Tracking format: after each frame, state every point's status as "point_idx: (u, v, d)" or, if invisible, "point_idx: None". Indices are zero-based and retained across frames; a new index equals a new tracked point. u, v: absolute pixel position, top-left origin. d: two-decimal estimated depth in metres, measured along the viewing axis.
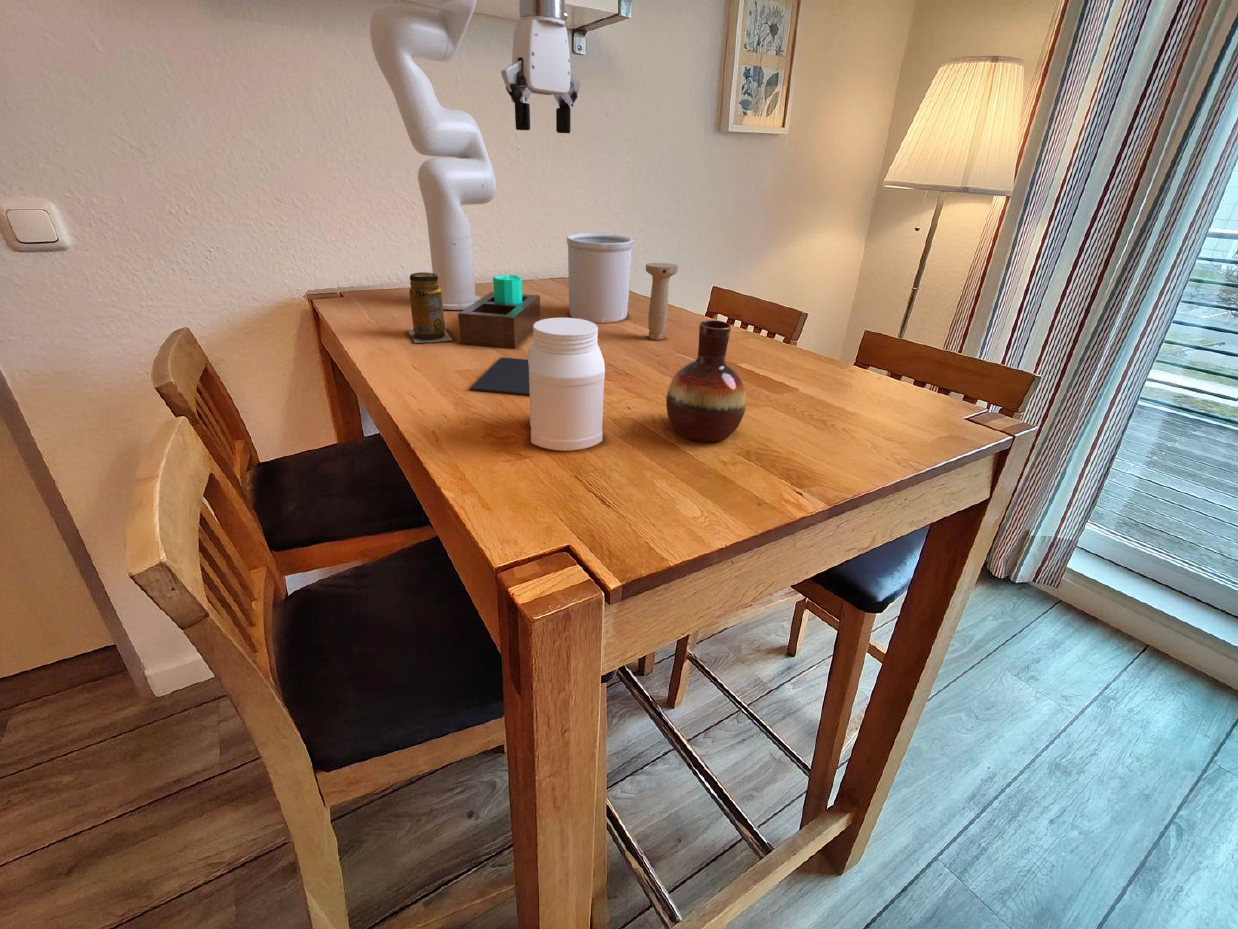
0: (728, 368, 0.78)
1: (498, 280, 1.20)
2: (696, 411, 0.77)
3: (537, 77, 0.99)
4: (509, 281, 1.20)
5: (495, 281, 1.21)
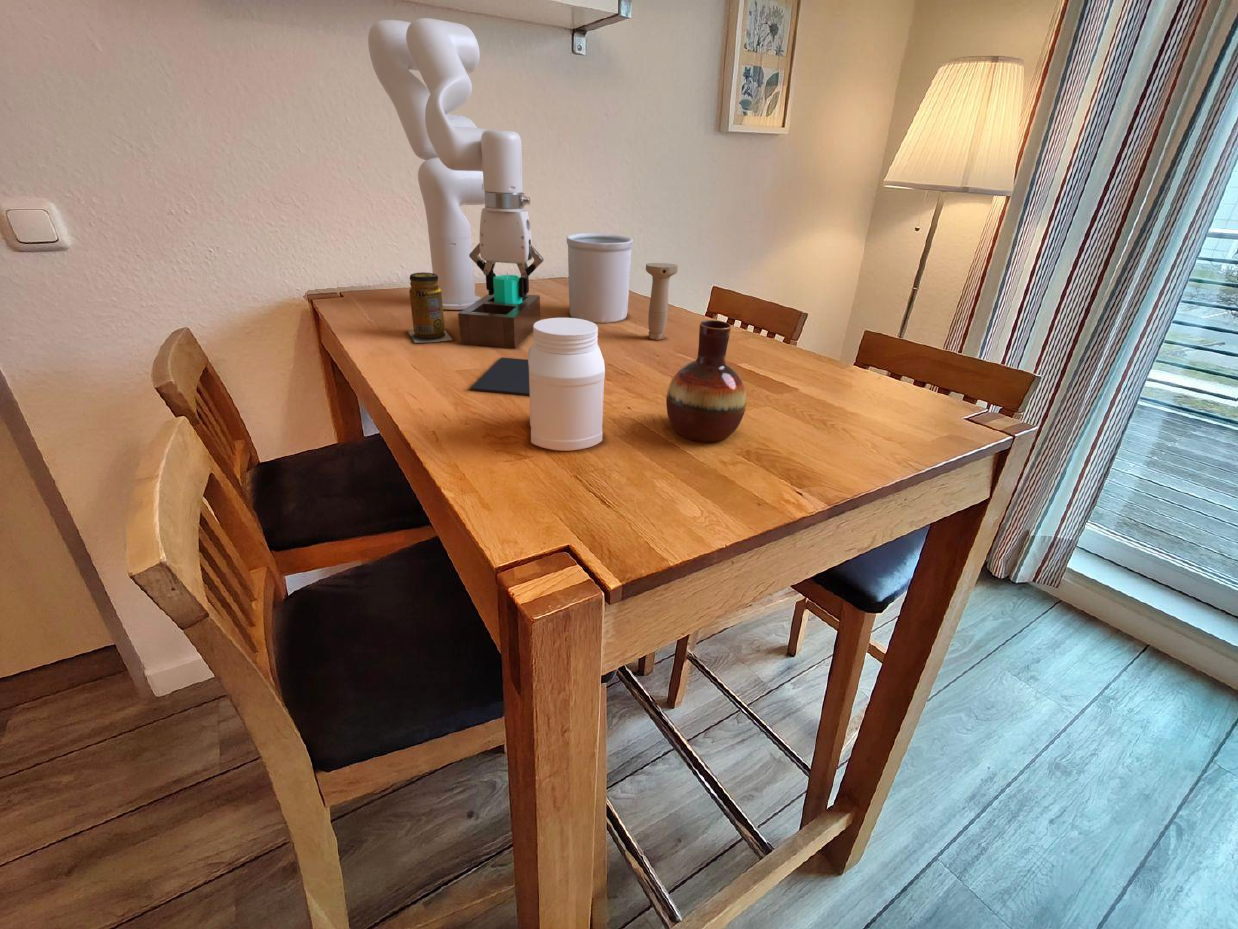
0: (728, 368, 0.78)
1: (498, 280, 1.20)
2: (696, 411, 0.77)
3: (487, 252, 1.18)
4: (509, 281, 1.20)
5: (495, 281, 1.21)
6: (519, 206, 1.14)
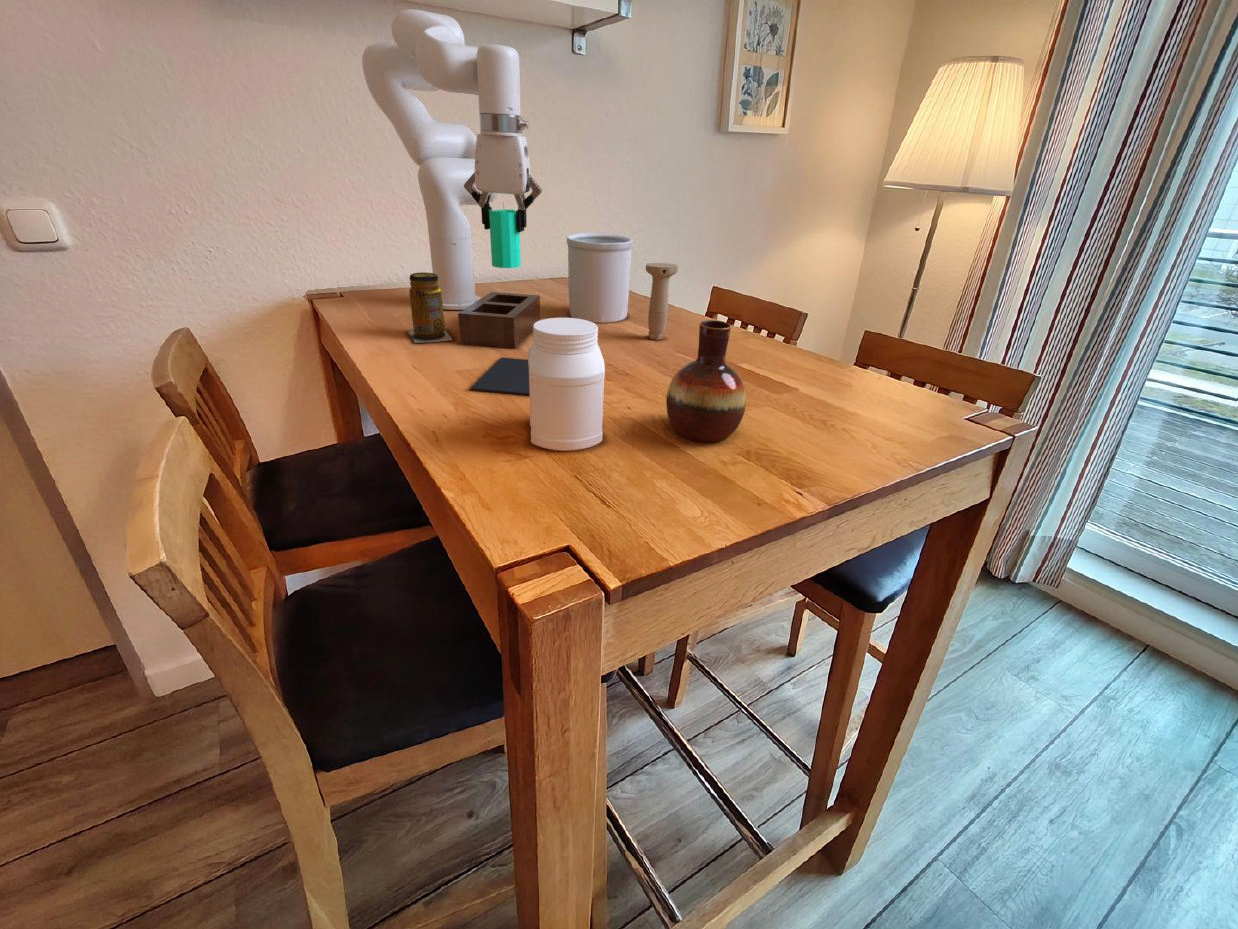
0: (728, 368, 0.78)
1: (494, 212, 1.14)
2: (696, 411, 0.77)
3: (483, 181, 1.12)
4: (506, 213, 1.13)
5: (491, 214, 1.14)
6: (517, 130, 1.08)
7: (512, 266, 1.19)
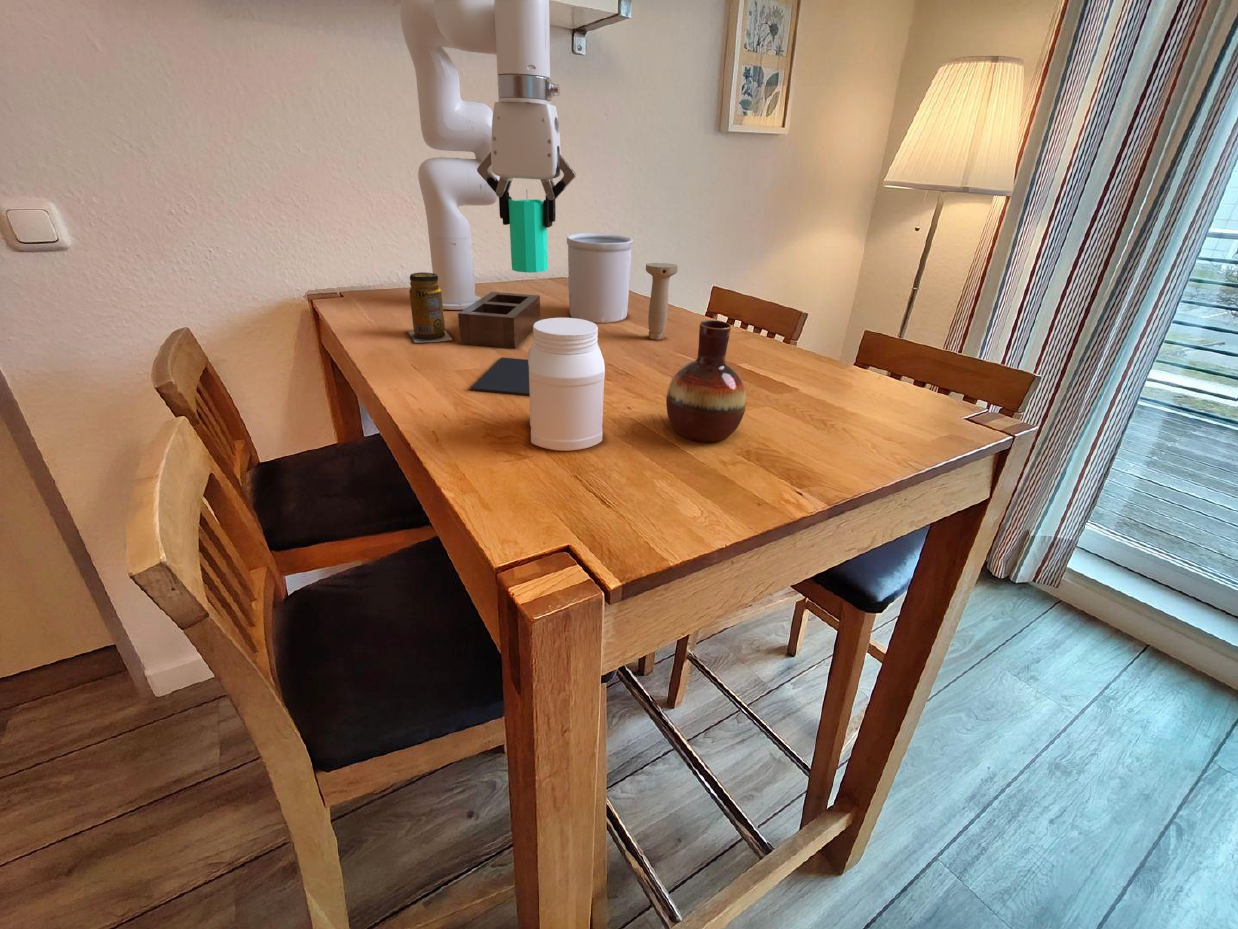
0: (728, 368, 0.78)
1: (516, 202, 0.90)
2: (696, 411, 0.77)
3: (501, 163, 0.88)
4: (530, 203, 0.90)
5: (511, 205, 0.91)
6: (545, 96, 0.84)
7: (537, 270, 0.95)
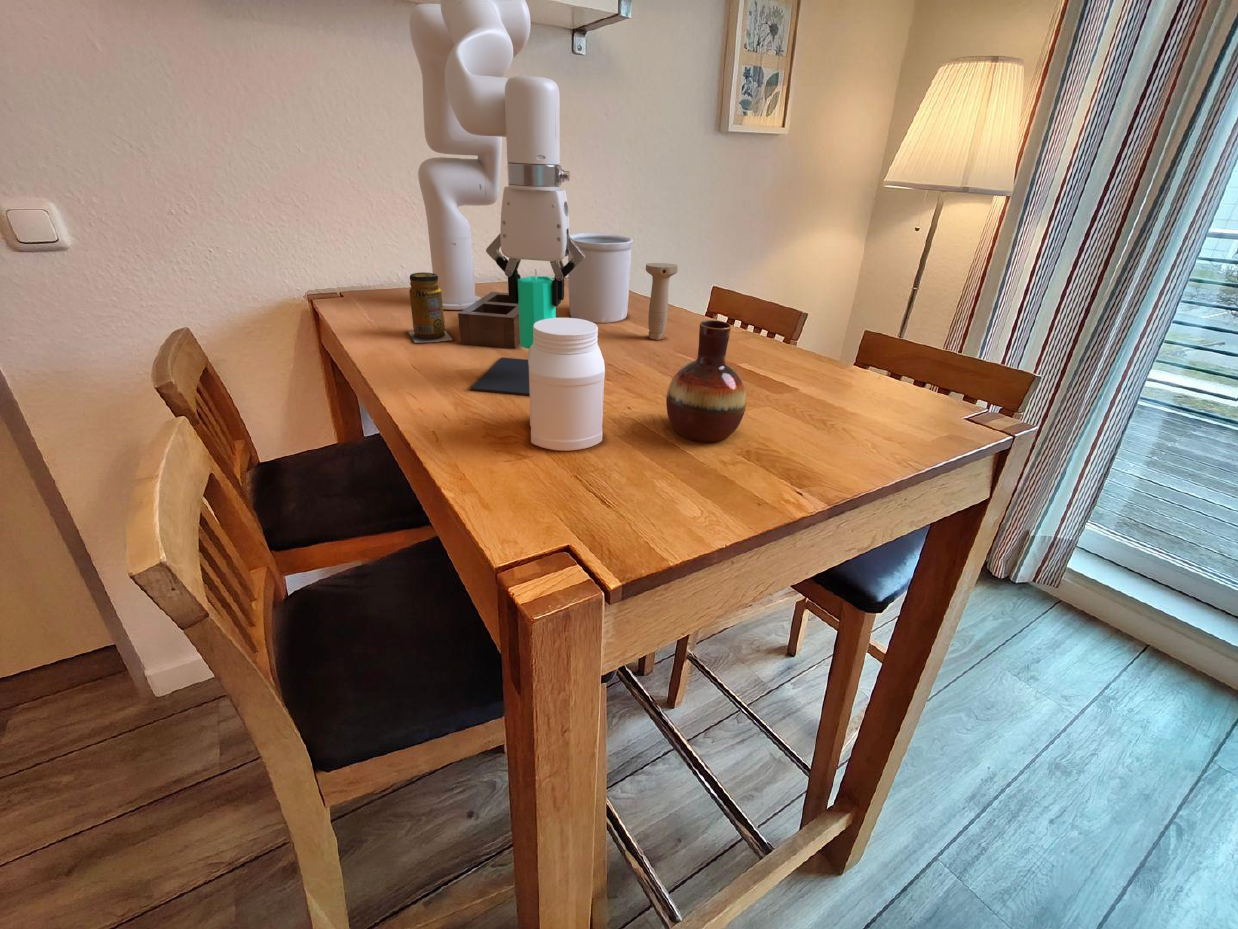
0: (728, 368, 0.78)
1: (525, 283, 0.90)
2: (696, 411, 0.77)
3: (511, 245, 0.88)
4: (539, 284, 0.90)
5: (520, 285, 0.91)
6: (555, 183, 0.84)
7: None
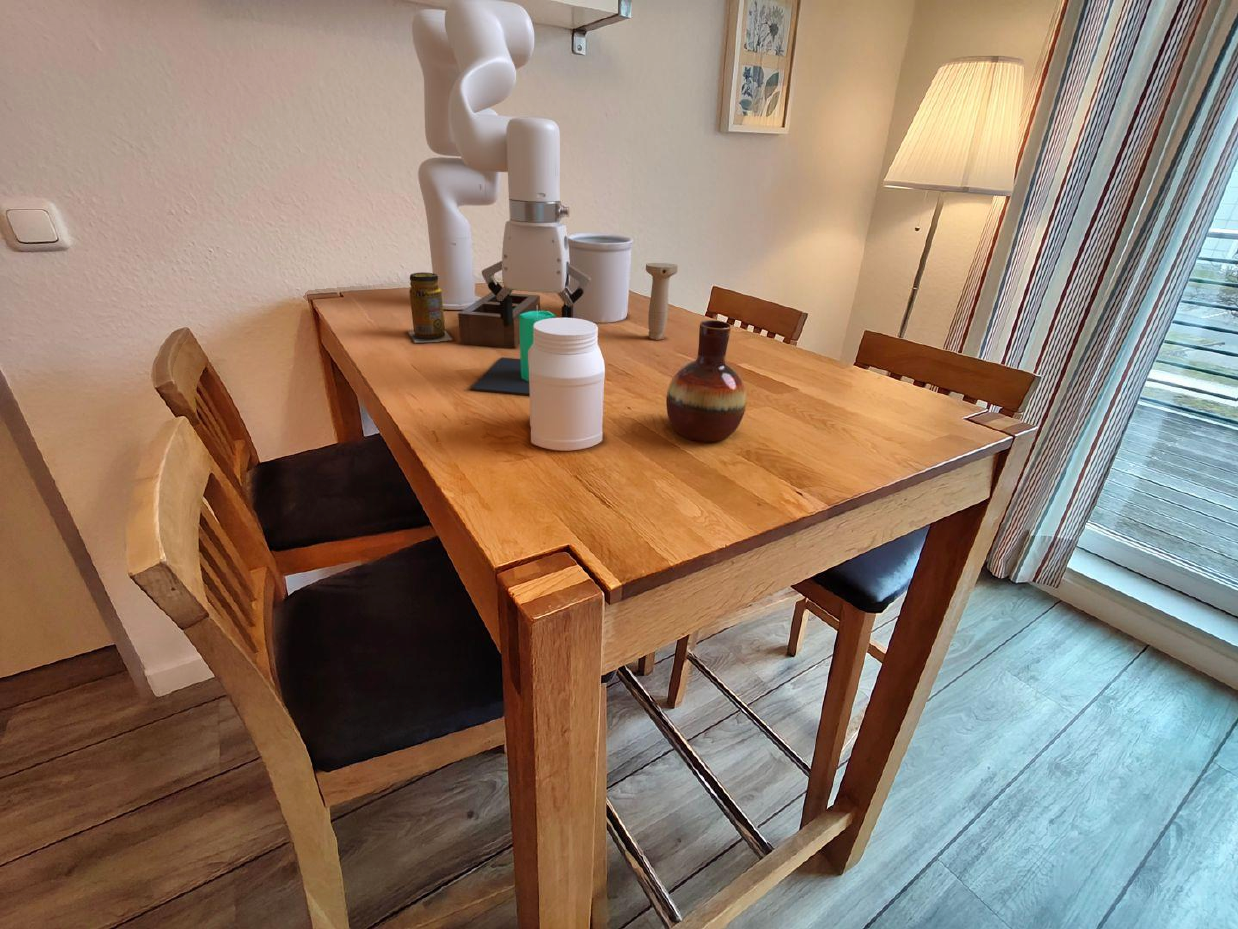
0: (728, 368, 0.78)
1: (526, 319, 0.92)
2: (696, 411, 0.77)
3: (512, 278, 0.90)
4: None
5: (522, 321, 0.93)
6: (555, 219, 0.86)
7: None
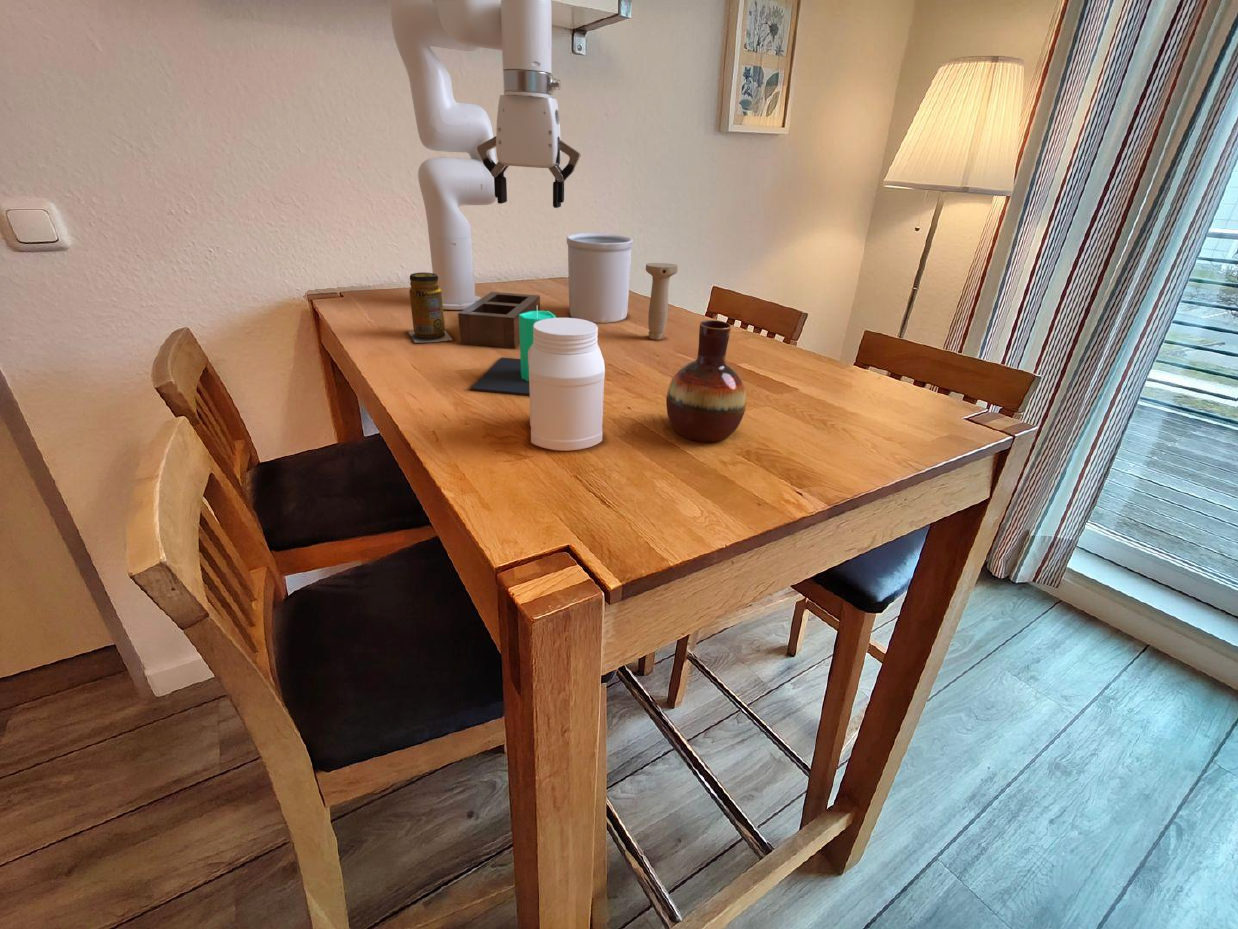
0: (728, 368, 0.78)
1: (526, 319, 0.92)
2: (696, 411, 0.77)
3: (506, 152, 0.95)
4: None
5: (522, 321, 0.93)
6: (547, 90, 0.91)
7: None
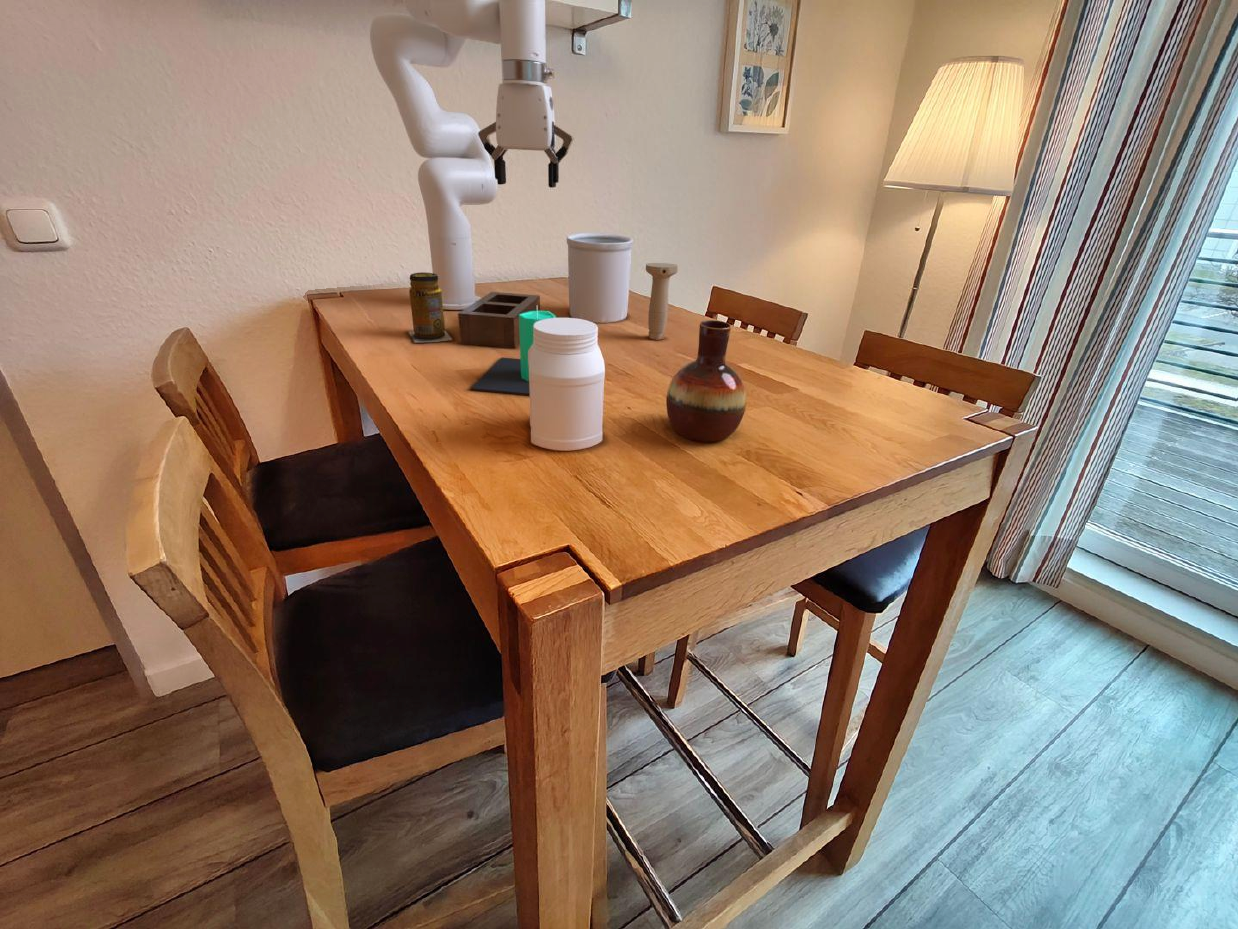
0: (728, 368, 0.78)
1: (526, 319, 0.92)
2: (696, 411, 0.77)
3: (504, 136, 1.04)
4: None
5: (522, 321, 0.93)
6: (542, 79, 1.00)
7: None
